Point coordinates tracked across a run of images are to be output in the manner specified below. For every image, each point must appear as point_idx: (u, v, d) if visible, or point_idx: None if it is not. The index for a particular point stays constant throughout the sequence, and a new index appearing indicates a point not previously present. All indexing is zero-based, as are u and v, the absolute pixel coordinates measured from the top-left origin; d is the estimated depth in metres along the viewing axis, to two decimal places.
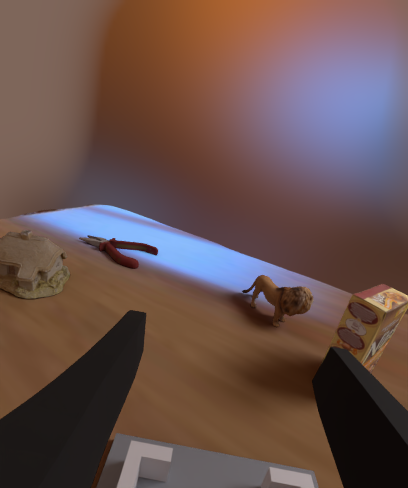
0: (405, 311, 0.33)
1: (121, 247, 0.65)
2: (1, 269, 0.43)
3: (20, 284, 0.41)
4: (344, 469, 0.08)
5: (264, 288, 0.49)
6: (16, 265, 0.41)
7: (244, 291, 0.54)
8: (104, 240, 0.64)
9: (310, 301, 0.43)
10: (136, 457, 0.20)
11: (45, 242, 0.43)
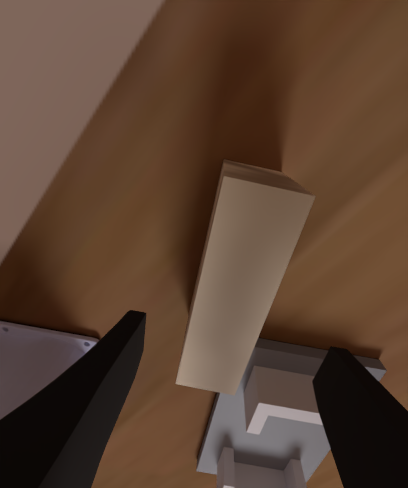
0: None
1: None
2: None
3: None
4: (344, 469, 0.08)
5: None
6: None
7: None
8: None
9: None
10: None
11: None
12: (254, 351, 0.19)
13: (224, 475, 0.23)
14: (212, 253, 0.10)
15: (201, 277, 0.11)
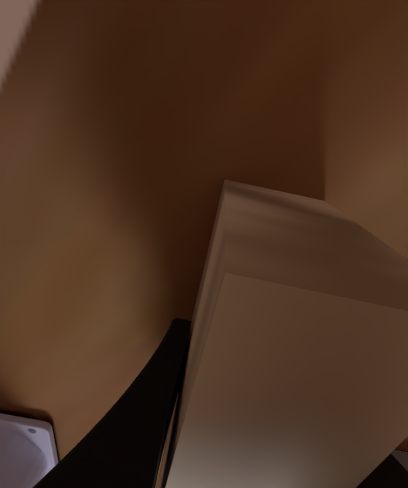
0: None
1: None
2: None
3: None
4: None
5: None
6: None
7: None
8: None
9: None
10: None
11: None
12: None
13: None
14: (197, 431, 0.04)
15: (174, 465, 0.05)
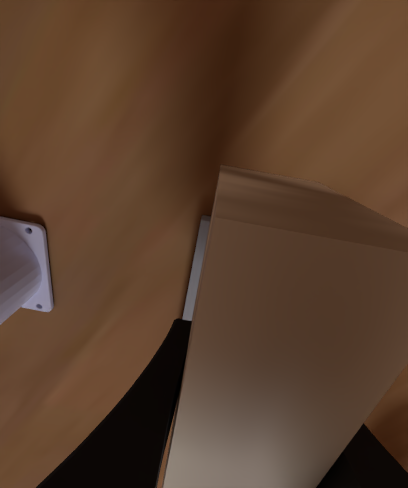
0: None
1: None
2: None
3: None
4: None
5: None
6: None
7: None
8: None
9: None
10: None
11: None
12: None
13: None
14: (198, 385, 0.05)
15: (178, 423, 0.05)
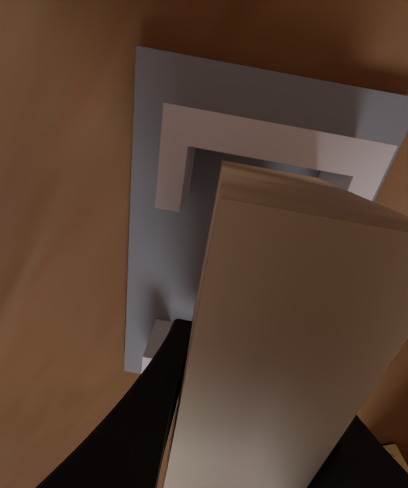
0: None
1: None
2: None
3: None
4: None
5: None
6: None
7: None
8: None
9: None
10: (353, 165, 0.09)
11: None
12: (174, 66, 0.10)
13: (147, 347, 0.14)
14: (202, 367, 0.05)
15: (182, 406, 0.05)
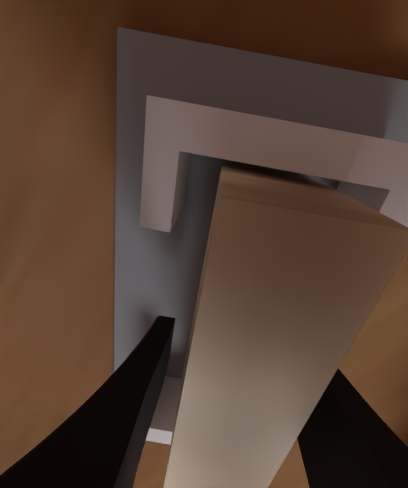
0: None
1: None
2: None
3: None
4: (309, 463, 0.08)
5: None
6: None
7: None
8: None
9: None
10: (391, 175, 0.07)
11: None
12: (164, 52, 0.08)
13: None
14: (205, 336, 0.06)
15: (188, 371, 0.06)
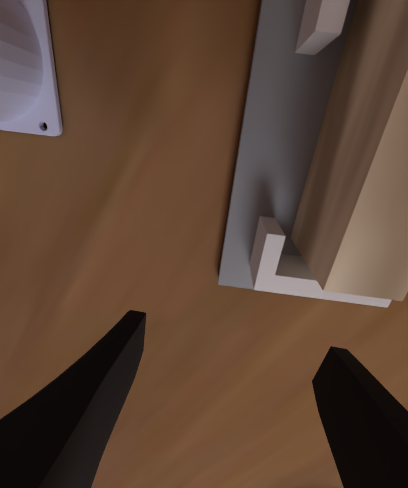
0: None
1: None
2: None
3: None
4: (344, 469, 0.08)
5: None
6: None
7: None
8: None
9: None
10: None
11: None
12: None
13: (265, 229, 0.14)
14: None
15: (397, 99, 0.08)
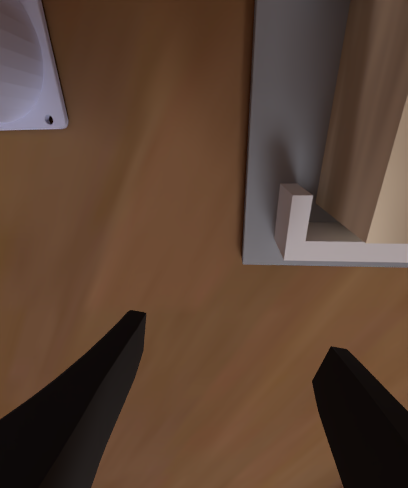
0: None
1: None
2: None
3: None
4: (344, 469, 0.08)
5: None
6: None
7: None
8: None
9: None
10: None
11: None
12: None
13: (290, 193, 0.13)
14: None
15: None
